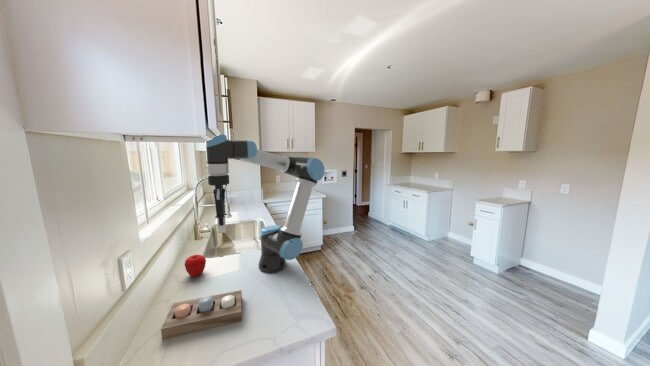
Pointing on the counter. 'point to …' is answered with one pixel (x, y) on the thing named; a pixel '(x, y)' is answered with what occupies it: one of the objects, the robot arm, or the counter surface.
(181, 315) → the button terracotta
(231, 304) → the button cream
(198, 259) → the apple
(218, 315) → the console
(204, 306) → the button slate
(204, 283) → the counter surface
